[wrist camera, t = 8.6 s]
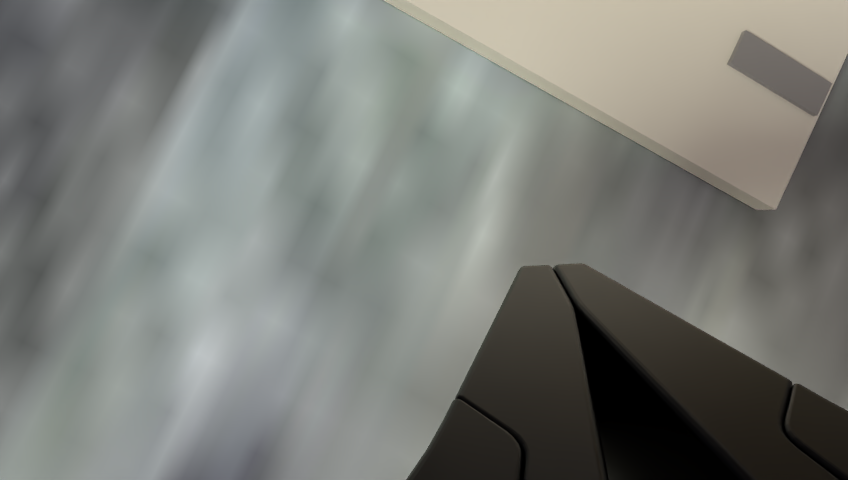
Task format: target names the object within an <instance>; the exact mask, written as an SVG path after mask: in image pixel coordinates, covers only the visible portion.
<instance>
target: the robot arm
mask: <svg viewBox="0 0 848 480" xmlns="http://www.w3.org/2000/svg"><path fill="white" fill-rule="evenodd" d="M406 480H848V411H847V410H845V409H843V408H841V407H839V406H837V405H836V404H834V403H832V402H830V401H828V400H826V399H825V398H823V397H821V396H819V395H818V394H816V393H814V392H812V391H811V390H809V389H807V388H805V387H804V386H802V385H800V384H794V385H793V387H792V382H791V381H790V380H789V379H787V378H785V377H783V376H782V375H780V374H778V373H776V372H775V371H773V370H771V369H769V368H768V367H766V366H764V365H762V364H761V363H759V362H757V361H755V360H753V359H752V358H750V357H748V356H746V355H745V354H743V353H741V352H739V351H738V350H736V349H734V348H732V347H730V346H729V345H727V344H725V343H723V342H722V341H720V340H718V339H716V338H715V337H713V336H711V335H709V334H707V333H706V332H704V331H702V330H700V329H699V328H697V327H695V326H693V325H692V324H690V323H688V322H686V321H684V320H683V319H681V318H679V317H677V316H676V315H674V314H672V313H670V312H669V311H667V310H665V309H663V308H661V307H660V306H658V305H656V304H654V303H653V302H651V301H649V300H647V299H646V298H644V297H642V296H640V295H638V294H637V293H635V292H633V291H631V290H630V289H628V288H626V287H624V286H623V285H621V284H619V283H617V282H616V281H614V280H612V279H610V278H608V277H607V276H605V275H603V274H601V273H600V272H598V271H596V270H594V269H593V268H591V267H589V266H587V265H585V264H581V263H580V264H561V265H556V266H555V267H554V268H553V269H552V267H550V266H549V265H541V266H523V267H521V268H520V270H519V271H518V273H517V275H516V277H515V279H514V281H513V283H512V285H511V287H510V289H509V291H508V293H507V295H506V297H505V299H504V301H503V303H502V305H501V307H500V309H499V311H498V313H497V315H496V317H495V319H494V321H493V323H492V325H491V327H490V329H489V331H488V333H487V335H486V337H485V339H484V341H483V343H482V345H481V347H480V349H479V351H478V353H477V355H476V357H475V359H474V361H473V363H472V365H471V367H470V369H469V371H468V373H467V375H466V377H465V379H464V381H463V383H462V385H461V388H460V390H459V392H458V394H457V396H456V398H455V400H454V401H453V402H452V404H451V406H450V408H449V410H448V412H447V414H446V416H445V418H444V420H443V422H442V423H441V425H440V427H439V429H438V431H437V432H436V434H435V436H434V438H433V439H432V441H431V443H430V445H429V446H428V448H427V450H426V452H425V453H424V454H423V456H422V457H421V459H420V460H419V462H418V463H417V465H416V466H415V468H414V469H413V471H412V472H411V473H410V475H409V476H408V478H407V479H406Z"/></svg>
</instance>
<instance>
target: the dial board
mask: <svg viewBox="0 0 848 480" xmlns="http://www.w3.org/2000/svg"><path fill="white" fill-rule="evenodd" d="M384 1H385V2H387V3H389V4H391V5H393V6H394V7H396V8H398V9H400V10H401V11H403V12H405V13H407V14H409V15H410V16H412V17H414V18H416V19H417V20H419V21H421V22H423V23H425V24H426V25H428V26H430V27H432V28H433V29H435V30H437V31H439V32H441V33H442V34H444V35H446V36H448V37H449V38H451V39H453V40H455V41H457V42H458V43H460V44H462V45H464V46H465V47H467V48H469V49H471V50H473V51H474V52H476V53H478V54H480V55H482V56H483V57H485V58H487V59H489V60H490V61H492V62H494V63H496V64H498V65H499V66H501V67H503V68H505V69H506V70H508V71H510V72H512V73H514V74H515V75H517V76H519V77H521V78H522V79H524V80H526V81H528V82H530V83H531V84H533V85H535V86H537V87H538V88H540V89H542V90H544V91H546V92H547V93H549V94H551V95H553V96H554V97H556V98H558V99H560V100H562V101H563V102H565V103H567V104H569V105H570V106H572V107H574V108H576V109H578V110H579V111H581V112H583V113H585V114H586V115H588V116H590V117H592V118H594V119H595V120H597V121H599V122H601V123H602V124H604V125H606V126H608V127H610V128H611V129H613V130H615V131H617V132H618V133H620V134H622V135H624V136H626V137H627V138H629V139H631V140H633V141H634V142H636V143H638V144H640V145H642V146H643V147H645V148H647V149H649V150H650V151H652V152H654V153H656V154H658V155H659V156H661V157H663V158H665V159H666V160H668V161H670V162H672V163H674V164H675V165H677V166H679V167H681V168H682V169H684V170H686V171H688V172H690V173H691V174H693V175H695V176H697V177H698V178H700V179H702V180H704V181H706V182H707V183H709V184H711V185H713V186H714V187H716V188H718V189H720V190H722V191H723V192H725V193H727V194H729V195H730V196H732V197H734V198H736V199H738V200H739V201H741V202H743V203H745V204H746V205H748V206H750V207H752V208H754V209H755V210H776V209H777V207H778V204H779V202H780V200H781V198H782V196H783V193H784V191H785V189H786V187H787V185H788V183H789V180H790V178H791V176H792V174H793V172H794V170H795V167H796V165H797V163H798V161H799V159H800V156H801V154H802V152H803V150H804V148H805V146H806V143H807V141H808V139H809V137H810V135H811V132H812V130H813V128H814V126H815V124H816V122H817V119H818V117H819V115H820V113H821V111H822V109H823V106H824V104H825V102H826V100H827V98H828V95H829V93H830V91H831V89H832V87H833V85H834V82H835V80H836V78H837V76H838V74H839V71H840V69H841V67H842V65H843V63H844V61H845V58H846V56H847V54H848V0H384Z"/></svg>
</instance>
